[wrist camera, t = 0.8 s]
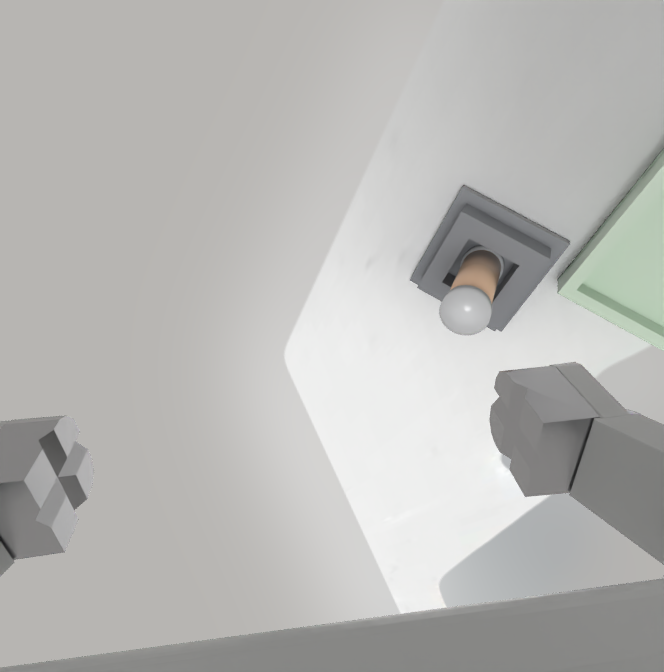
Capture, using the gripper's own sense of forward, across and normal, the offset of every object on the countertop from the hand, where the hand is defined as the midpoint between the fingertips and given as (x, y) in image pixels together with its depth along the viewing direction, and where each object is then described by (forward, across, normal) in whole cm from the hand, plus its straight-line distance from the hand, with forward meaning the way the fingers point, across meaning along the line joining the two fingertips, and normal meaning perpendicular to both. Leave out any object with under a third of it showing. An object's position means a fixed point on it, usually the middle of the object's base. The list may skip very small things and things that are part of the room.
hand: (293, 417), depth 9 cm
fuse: (+38, -20, +15) cm, 46 cm away
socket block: (+39, -21, +15) cm, 47 cm away
